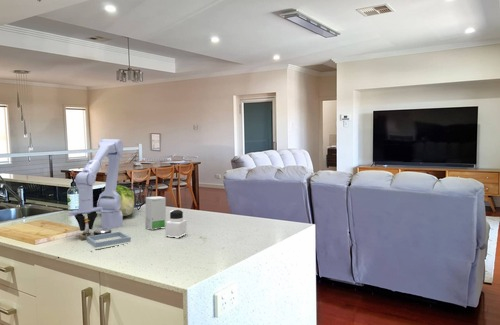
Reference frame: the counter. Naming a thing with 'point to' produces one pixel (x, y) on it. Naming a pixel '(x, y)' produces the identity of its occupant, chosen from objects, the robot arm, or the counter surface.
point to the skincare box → (155, 212)
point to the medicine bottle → (175, 223)
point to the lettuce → (125, 200)
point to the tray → (123, 239)
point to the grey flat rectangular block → (93, 234)
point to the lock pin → (86, 226)
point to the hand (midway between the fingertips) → (86, 229)
